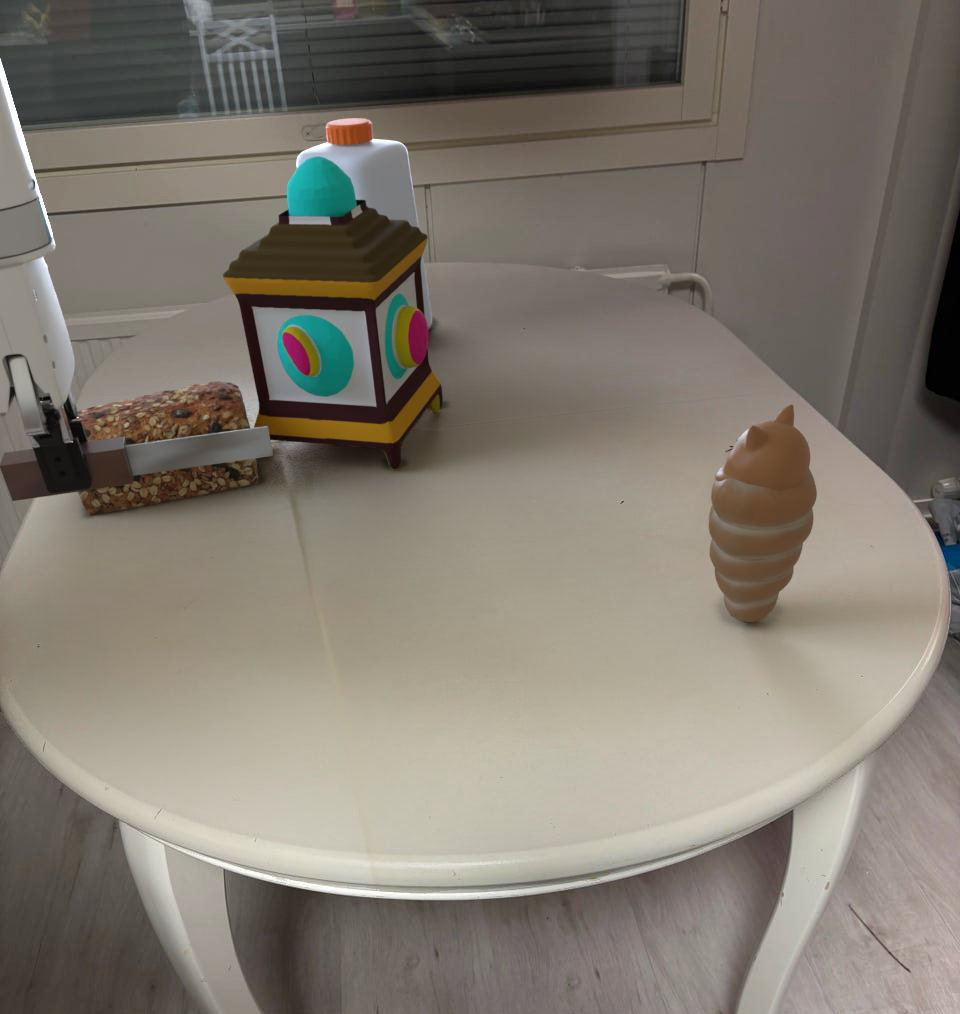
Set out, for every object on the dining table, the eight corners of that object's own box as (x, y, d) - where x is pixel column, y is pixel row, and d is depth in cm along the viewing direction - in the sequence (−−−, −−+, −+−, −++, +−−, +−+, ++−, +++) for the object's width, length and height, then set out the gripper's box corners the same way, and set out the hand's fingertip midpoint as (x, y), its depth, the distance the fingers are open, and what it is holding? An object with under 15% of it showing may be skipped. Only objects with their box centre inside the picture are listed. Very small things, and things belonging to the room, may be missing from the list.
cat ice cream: (738, 578, 85) (763, 385, 75) (816, 613, 81) (855, 412, 70) (675, 620, 81) (693, 421, 70) (754, 660, 76) (786, 452, 65)
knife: (12, 501, 73) (-2, 465, 72) (16, 487, 75) (3, 452, 73) (274, 463, 77) (268, 428, 75) (272, 451, 79) (266, 416, 77)
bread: (253, 451, 111) (236, 368, 105) (264, 492, 103) (246, 404, 97) (86, 480, 107) (58, 396, 101) (84, 525, 99) (54, 436, 93)
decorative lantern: (458, 405, 119) (440, 136, 101) (407, 480, 104) (375, 178, 86) (309, 396, 124) (266, 137, 105) (240, 466, 108) (176, 177, 90)
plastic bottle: (301, 345, 139) (265, 129, 122) (360, 313, 149) (335, 110, 132) (388, 360, 132) (363, 134, 116) (443, 325, 143) (428, 113, 126)
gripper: (-46, 210, 69) (35, 444, 80) (-99, 271, 57) (7, 538, 68) (61, 200, 71) (127, 431, 82) (33, 257, 58) (116, 522, 69)
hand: (72, 478), depth 75 cm, fingers closed on knife, 2 cm apart
